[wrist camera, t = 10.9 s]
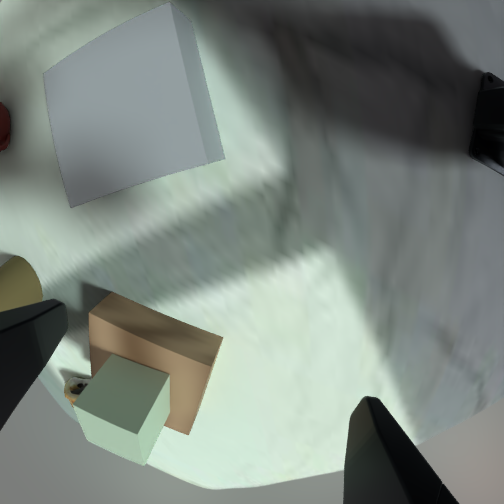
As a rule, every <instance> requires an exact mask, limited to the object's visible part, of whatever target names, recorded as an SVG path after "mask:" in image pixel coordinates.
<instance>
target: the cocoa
mask: <svg viewBox="0 0 504 504" xmlns="http://www.w3.org/2000/svg"><path fill="white" fill-rule="evenodd" d="M9 132H10V117H9V113H8V110H7V109H6V108H5V106H4V105H3V104H2V103H1V102H0V152H1V151H2V150H5V149H6V148H7V147H8V145H9V142H10V135H9Z"/></svg>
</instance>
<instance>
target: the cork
mask: <svg viewBox="0 0 504 504" xmlns="http://www.w3.org/2000/svg"><path fill="white" fill-rule="evenodd" d="M42 297H43V295H42V288H41V284H40V281H39V279H38V277H37V275H36V273H35V271H34V269H33V268H32V267H31V265H30V264H29V263H28V262H27V261H26V260H25V259H24V258H22V257H20V256H14V257H12V258H11V259H10V260H9V261H7V262H6V263H5V264H4V265H2V266H1V267H0V312H2V311H6V310H10V309H14V308H18V307H22V306H26V305H30V304H34V303H38V302H42Z"/></svg>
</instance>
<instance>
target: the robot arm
mask: <svg viewBox="0 0 504 504" xmlns="http://www.w3.org/2000/svg"><path fill="white" fill-rule="evenodd" d="M488 77H489V78H490V82H489V80H488ZM473 125H474V129H473V134H472V139H471V143H470V147H469V154H470V156H471V157H472V158H473V159H475V160H477V161H479V162H481V163H482V164H484V165H486V166H488V167H490V168H491V169H493V170H495V171H497V172H498V173H500V174H502V175H504V81H502V80H501V79H499V78H498V77H496V76H495V75H493V74H492V73H490V72H487V73H484V74H483V75H482V82H481V89H480V92H479V93H478V99H477V105H476V111H475V116H474V122H473ZM475 149H477V151H478V153H477V155H476V154H475ZM67 329H68V319H67V312H66V306H65V304H64V303H63V302H61V301H59V300H57V299H50V300H46V301H42V302H38V303H34V304H30V305H26V306H22V307H18V308H14V309H10V310H6V311H2V312H0V431H1V429H2V428H3V426H4V425H5V423H6V422H7V420H8V418H9V417H10V415H11V414H12V412H13V411H14V409H15V408H16V407H17V405H18V404H19V402H20V401H21V399H22V398H23V396H24V395H25V394H26V392H27V391H28V389H29V388H30V386H31V385H32V384H33V382H34V381H35V379H36V378H37V377H38V375H39V374H40V373H41V371H42V370H43V369H44V367H45V366H46V364H47V362H48V361H49V359H50V357H51V356H52V354H53V352H54V351H55V349H56V348H57V346H58V344H59V343H60V341H61V339H62V338H63V336H64V335H65V333H66V331H67ZM343 499H344V500H343V504H459V503H458V501H456V499H455V498H454V496H453V495H452V494H451V493H450V491H449V490H448V489H447V487H446V486H445V485H444V484H442V481H441V479H440V478H439V477H438V475H437V474H436V473H435V471H434V470H433V469H432V468H431V466H430V465H429V464H428V462H427V461H426V460H425V458H424V457H423V456H422V454H421V453H420V452H419V450H418V449H417V448H416V446H415V445H414V444H413V442H412V441H411V440H410V439H409V437H408V436H407V435H406V433H405V432H404V431H403V429H402V428H401V427H400V425H399V424H398V423H397V421H396V420H395V419H394V418H393V416H392V415H391V414H390V412H389V411H388V410H387V408H386V407H385V406H384V405H383V403H382V402H381V401H380V399H378V398H376V397H370V396H365V397H363V398H362V400H361V401H360V403H359V404H358V405H357V407H356V408H355V410H354V411H353V413H352V414H351V417H350V421H349V430H348V440H347V448H346V456H345V465H344V498H343Z"/></svg>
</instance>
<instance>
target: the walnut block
mask: <svg viewBox="0 0 504 504" xmlns="http://www.w3.org/2000/svg"><path fill="white" fill-rule="evenodd" d="M222 340H223V337H221V336H218V335H215V334H213V333H210V332H207V331H205V330H202V329H200V328H197V327H194V326H192V325H189V324H187V323H184V322H182V321H179V320H177V319H174V318H172V317H169V316H167V315H164V314H162V313H160V312H157V311H155V310H152V309H150V308H148V307H145V306H143V305H141V304H139V303H136V302H134V301H132V300H129V299H127V298H125V297H123V296H121V295H118V294H116V293H114V292H111V293H110V294H109V295H108V296H106V297H105V298H104V299H103V300H102V301H101V302H100V303H99V304H97V305H96V306H95V307H94V308H93V309H92V310H91V311H90V312H89V344H90V362H91V375H92V378H93V377H94V376H95V375H96V373H97V372H98V371H99V369H100V368H101V367H102V366H103V364H104V363H105V362H106V361H107V359H108V358H109V357H110V356H111V354H115V355H117V356H120V357H122V358H125V359H127V360H130V361H133V362H135V363H138V364H141V365H144V366H146V367H149V368H152V369H155V370H158V371H161V372H164V373H167V374H170V413H169V415H168V417H167V420H166V422H165V424H164V426H166V427H168V428H171V429H173V430H176V431H178V432H181V433H184V434H186V435H189V433H190V431H191V428H192V426H193V423H194V421H195V418H196V416H197V413H198V411H199V408H200V405H201V402H202V399H203V396H204V393H205V390H206V387H207V384H208V381H209V378H210V375H211V372H212V370H213V367H214V364H215V361H216V358H217V355H218V352H219V349H220V346H221V343H222Z"/></svg>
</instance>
